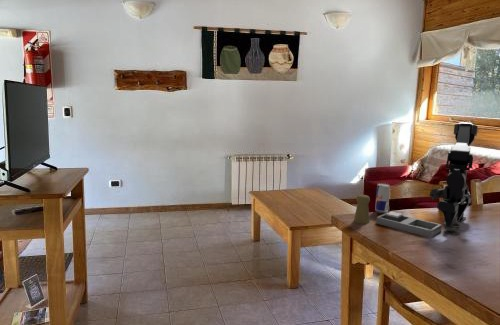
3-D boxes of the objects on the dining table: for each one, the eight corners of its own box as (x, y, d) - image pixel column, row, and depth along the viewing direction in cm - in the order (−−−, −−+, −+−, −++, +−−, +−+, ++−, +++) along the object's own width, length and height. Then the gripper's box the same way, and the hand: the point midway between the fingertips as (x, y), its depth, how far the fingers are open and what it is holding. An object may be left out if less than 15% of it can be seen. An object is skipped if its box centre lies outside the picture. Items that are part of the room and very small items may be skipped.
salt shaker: (444, 229, 159) (448, 199, 156) (461, 232, 155) (465, 202, 153) (440, 233, 154) (443, 202, 152) (457, 237, 150) (461, 205, 148)
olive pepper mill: (372, 223, 164) (374, 196, 162) (359, 224, 162) (361, 197, 160) (363, 218, 170) (364, 192, 168) (350, 220, 168) (352, 194, 166)
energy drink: (372, 210, 181) (374, 183, 179) (382, 209, 183) (384, 183, 181) (380, 214, 177) (382, 186, 174) (390, 212, 178) (392, 185, 176)
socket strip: (387, 218, 171) (388, 212, 170) (441, 231, 156) (441, 224, 156) (376, 223, 164) (376, 217, 163) (430, 237, 149) (431, 230, 149)
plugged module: (390, 220, 167) (391, 211, 166) (402, 223, 164) (403, 213, 163) (384, 223, 164) (385, 213, 163) (397, 226, 160) (397, 216, 160)
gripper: (443, 176, 163) (439, 214, 166) (424, 183, 150) (420, 224, 153) (473, 181, 156) (469, 220, 158) (456, 189, 142) (452, 232, 145)
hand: (452, 224), depth 154 cm, fingers closed on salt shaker, 8 cm apart
